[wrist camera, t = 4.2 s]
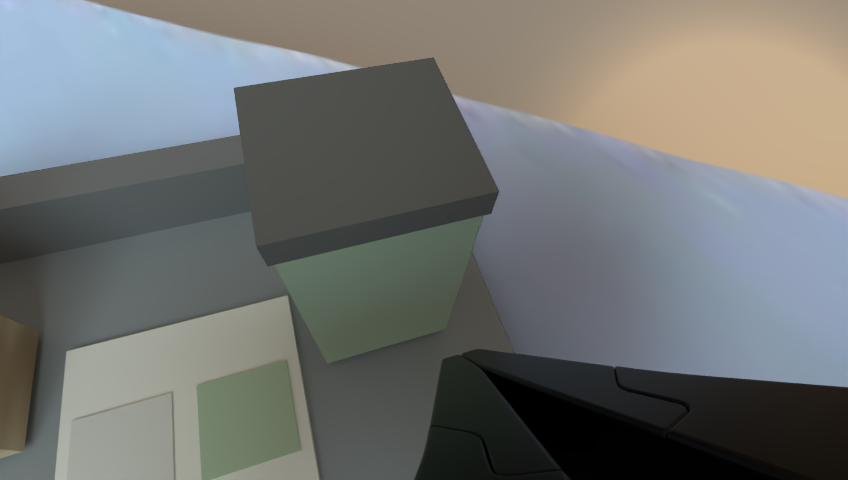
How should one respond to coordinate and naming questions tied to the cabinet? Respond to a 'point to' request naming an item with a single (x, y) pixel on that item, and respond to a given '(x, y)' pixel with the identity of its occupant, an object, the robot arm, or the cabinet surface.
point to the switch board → (196, 335)
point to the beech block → (15, 383)
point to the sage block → (364, 199)
